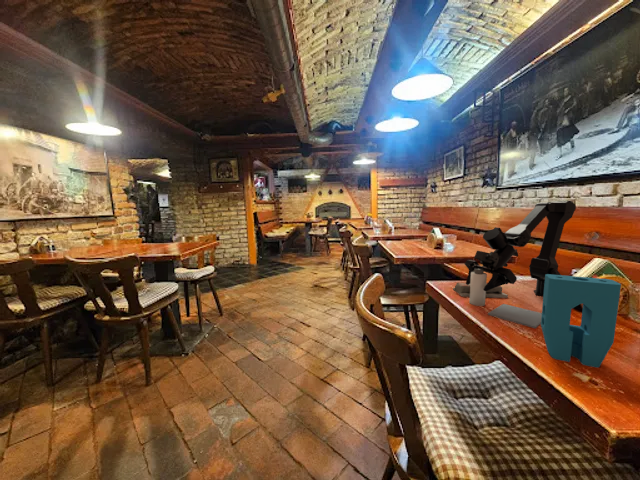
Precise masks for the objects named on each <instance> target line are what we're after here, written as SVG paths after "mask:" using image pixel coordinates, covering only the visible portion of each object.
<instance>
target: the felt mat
mask: <svg viewBox="0 0 640 480" xmlns="http://www.w3.org/2000/svg"><path fill="white" fill-rule="evenodd" d="M487 315H488V316H491V317H494V318H498V319H501V320H504V321H508V322H511V323H514V324H518V325H522V326H525V327H529V328H532V329H537V328H538V327H539V326H541V317H542V312H539V311H534V310H530V309H528V308H527V309H526V308H522V307H517V306H514V305H510V304H506V303H503V304H500V305H499V306H497V307H496V308H494V309H492V310H491V311H489V312H487Z"/></svg>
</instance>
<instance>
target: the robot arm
mask: <svg viewBox="0 0 640 480" xmlns="http://www.w3.org/2000/svg"><path fill="white" fill-rule="evenodd" d="M576 209H577V206H576V204H575V203H574V202H573V201H572V200H552V201H540V202H537V203H536V204H535V205H534V207H533V209H532V210H531V211H530V212H529V213H528V214H527V215H526V216H525V217H524V218H523V219H522V220H521V222H520V223H519V224H517V225H516V226H513V227H510V228H508V230H507V231H505V232H504V231H502V229H501V227H493V229H490V230H487V231H486V232H484V233H483V235H482V239H483V240H484V241H485V243H486V244H487V245H488V246H489V247H490V249H492V250H494V251H490V252H487V251H482V250H476V252H475V254H474V256H473V258H474V259H475V260H472V259H467V260H465V262H464V265H465V267H466V268H467V269H468V274H467V278H466V280H465V283H466V284H467V285H469V284H470V281H471V272H474V269H483V270H484V273H486V274H491V275H492V276H491V278H490V279H489V281H488V282H486V283H487V284H486V286H485V287H484V289H483V290H484V291H488V290H490V289H493V288H495V287H498V286H501V287H502V286H503V285H508V284H510V285H514V284H515V283H516V281H517V279H518V277H517V276H516V275H515V274H514V272H513V270H511V269H510V268H508V262H509V260H510V259H511V258H512V257H518V256H519V251H518V249H516V248H514V247H518V248H524V247H525V246H527V244H528V243H529V242H530V241H531V239H532V235H531V234H532V232H533V231H534V230H535V229H536V228H537V227H538V226H539V225H540V223H541V222H543V220H544V219H545V218H546V219H547V221H548V222H547V225H546V228H545V229H546V230H545V233H544V236H543V240H542V244H541V247H540V251H539V254H538V255H537V256H536V257H532V258H531V260H530V264H529V265H528V266H529V273H530V278H531V279H535V280H536V284H535V287H536V288H535V289H533V293H534V294H535V295H536V296H541V297H543V295H544V284H545V274H552V275H562V274H561V273H560V272H559V264H558V262H557V259H556V255H557V252H558V250H559V249H558V248H559V244H560V242H561V238H562V234H563V231H564V227H565V224H566V223H567V222H568V221H569V220H571V219H572V218H573V216H574V214H575V212H576ZM476 260H478V261H479V263H480V264H479V263H478V261H476Z"/></svg>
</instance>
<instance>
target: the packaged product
mask: <svg viewBox="0 0 640 480" xmlns="http://www.w3.org/2000/svg"><path fill="white" fill-rule="evenodd" d="M487 283H488V282H486V284H487ZM452 289H453V291H454V292H456V294H458V295H459V296H461V297H463V298H464V297H465V298H470V284H469V285H467V284H466V282H460V281H458V282H456V284H455V286H454V287H452ZM508 297H509V294H506V293H505V292H503V287H502V285H501V286H498V287H495V288H493V289H490V290H488V291H486V297H485V298H490V299H491V298H493V299H495V298H496V299H497V298H498V299H499V298H500V299H507V298H508Z"/></svg>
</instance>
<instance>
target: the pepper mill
mask: <svg viewBox="0 0 640 480" xmlns="http://www.w3.org/2000/svg"><path fill="white" fill-rule="evenodd" d="M487 276H488V273H487V272H484V270H483V269H474V272H471V281H470V297H469V299H468V300H469V304H471V305H473V306H477V307H485V306H486V298H487V297H486V291H484V290H483V289H484V287H485V286H486V283H487V280H488V277H487Z"/></svg>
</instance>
